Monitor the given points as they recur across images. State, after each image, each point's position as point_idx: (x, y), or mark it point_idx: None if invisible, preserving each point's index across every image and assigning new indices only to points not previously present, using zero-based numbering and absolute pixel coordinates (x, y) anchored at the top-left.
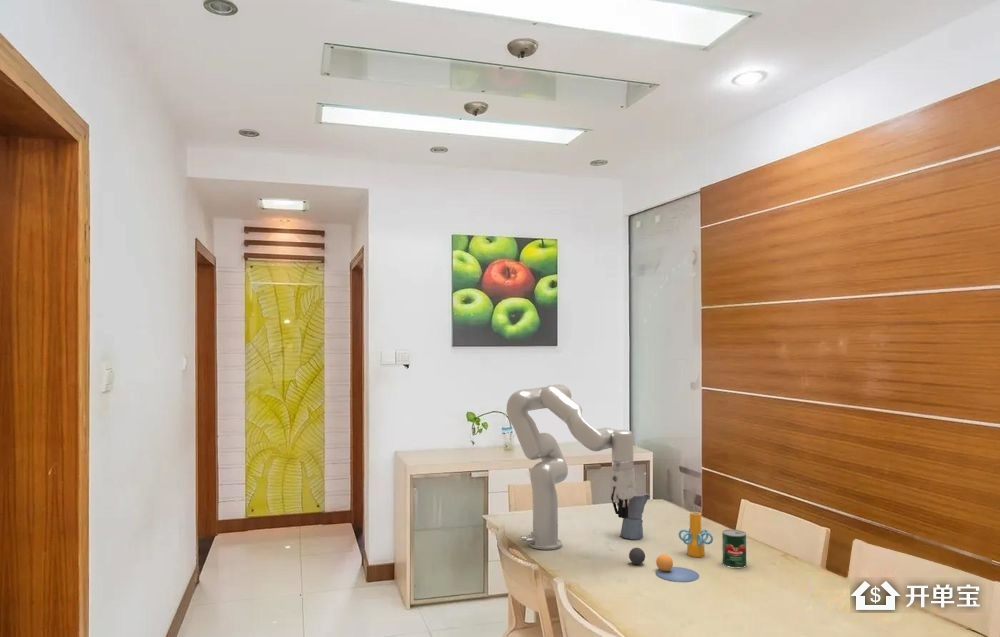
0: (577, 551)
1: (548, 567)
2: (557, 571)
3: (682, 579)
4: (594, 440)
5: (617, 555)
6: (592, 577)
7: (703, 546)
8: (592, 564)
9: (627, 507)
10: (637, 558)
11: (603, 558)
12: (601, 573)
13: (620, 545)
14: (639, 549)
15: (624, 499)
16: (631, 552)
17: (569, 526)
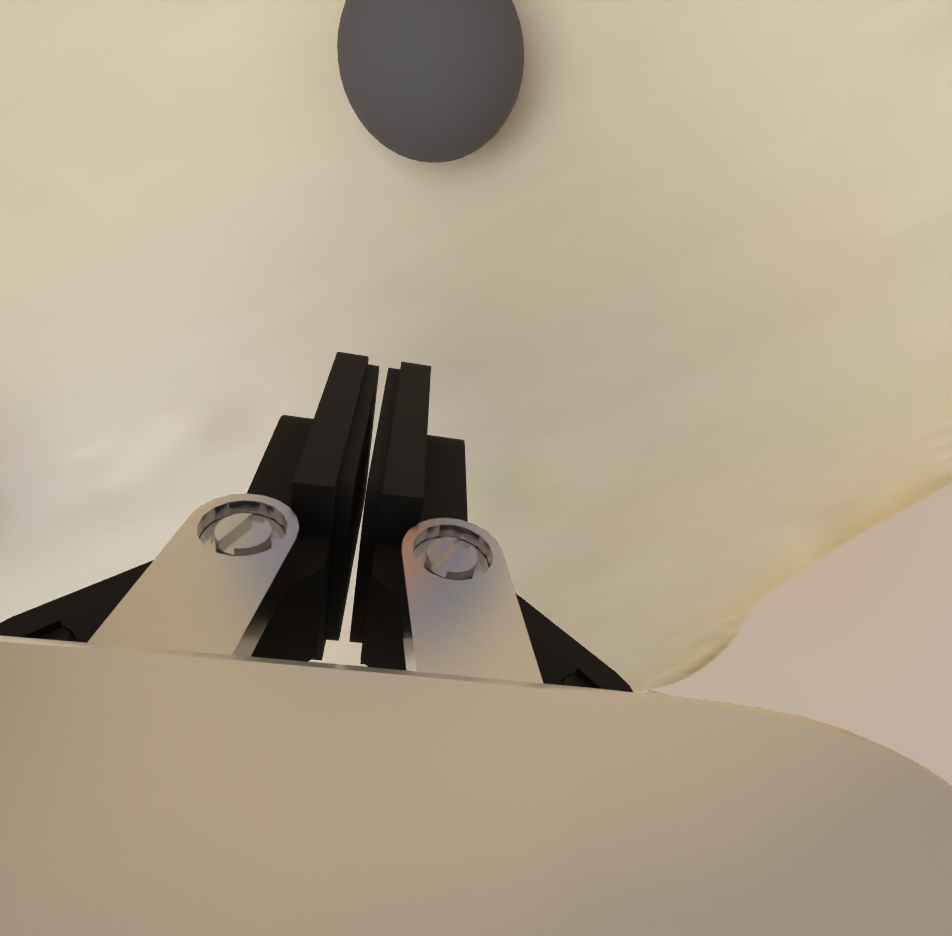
0: None
1: (797, 572)
2: (858, 508)
3: None
4: None
5: (321, 328)
6: (937, 271)
7: None
8: (635, 395)
9: (333, 472)
10: (516, 12)
11: (460, 387)
12: (822, 250)
13: (71, 412)
14: (442, 13)
15: (699, 701)
16: (499, 112)
17: None
